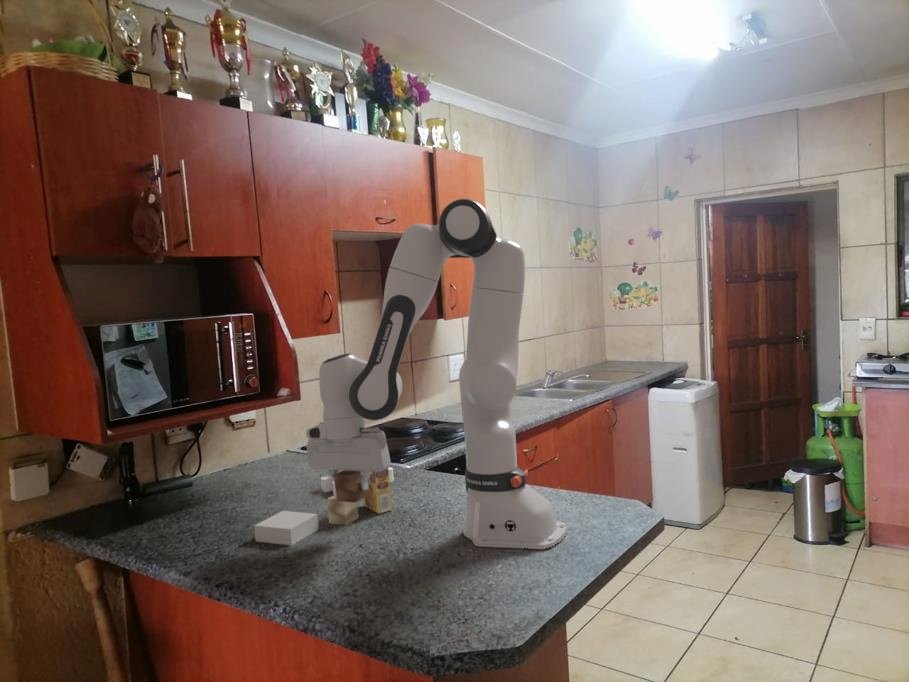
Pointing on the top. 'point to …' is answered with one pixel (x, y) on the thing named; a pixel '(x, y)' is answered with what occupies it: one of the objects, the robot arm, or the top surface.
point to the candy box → (379, 492)
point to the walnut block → (349, 486)
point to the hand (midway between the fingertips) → (351, 488)
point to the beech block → (341, 511)
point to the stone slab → (286, 527)
